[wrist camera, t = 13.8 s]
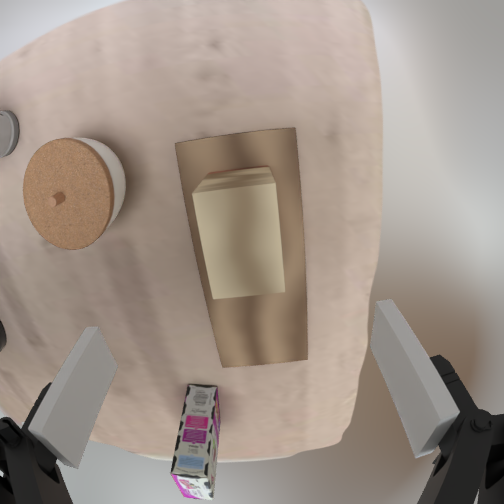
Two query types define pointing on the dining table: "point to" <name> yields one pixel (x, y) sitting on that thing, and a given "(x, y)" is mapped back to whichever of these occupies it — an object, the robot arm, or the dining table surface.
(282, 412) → the dining table surface
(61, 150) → the lidded jar
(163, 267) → the dining table surface
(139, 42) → the dining table surface
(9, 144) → the travel mug
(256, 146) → the board
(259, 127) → the dining table surface
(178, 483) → the candy bar box
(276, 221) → the block
